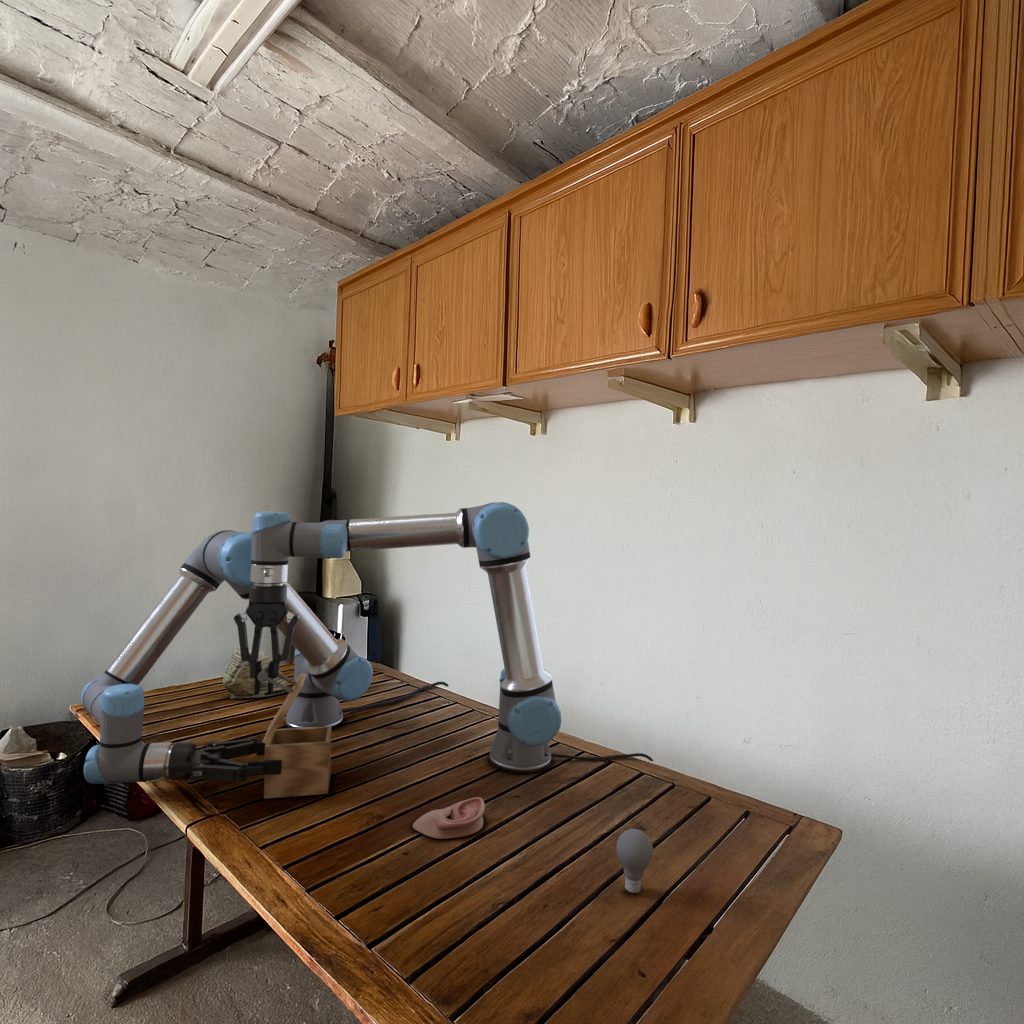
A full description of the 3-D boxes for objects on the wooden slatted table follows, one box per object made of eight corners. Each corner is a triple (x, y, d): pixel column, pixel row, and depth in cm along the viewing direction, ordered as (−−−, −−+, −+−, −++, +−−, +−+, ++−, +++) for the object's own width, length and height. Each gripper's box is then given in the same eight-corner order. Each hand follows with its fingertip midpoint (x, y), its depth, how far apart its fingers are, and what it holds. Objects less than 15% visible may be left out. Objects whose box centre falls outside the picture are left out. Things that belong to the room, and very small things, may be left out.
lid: (306, 674, 142) (269, 655, 141) (302, 687, 133) (262, 667, 131) (274, 727, 141) (236, 709, 139) (267, 744, 132) (227, 725, 130)
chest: (330, 774, 144) (331, 726, 144) (327, 793, 135) (328, 742, 134) (271, 778, 141) (271, 729, 141) (263, 798, 132) (264, 746, 132)
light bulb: (610, 879, 108) (613, 822, 108) (644, 879, 109) (647, 822, 109) (619, 902, 102) (622, 840, 102) (655, 901, 103) (658, 840, 103)
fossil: (218, 695, 195) (220, 647, 195) (278, 685, 208) (279, 640, 207) (228, 703, 189) (230, 653, 188) (289, 692, 201) (290, 645, 201)
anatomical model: (407, 813, 120) (427, 787, 131) (406, 834, 120) (426, 806, 131) (475, 823, 117) (489, 796, 129) (474, 845, 117) (488, 815, 129)
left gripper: (186, 757, 143) (290, 753, 148) (153, 804, 121) (276, 798, 126) (187, 724, 143) (291, 721, 148) (155, 765, 121) (278, 760, 126)
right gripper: (227, 585, 130) (222, 699, 131) (303, 586, 133) (298, 697, 134) (234, 580, 137) (230, 688, 138) (307, 581, 141) (302, 687, 141)
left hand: (284, 756), depth 137 cm, fingers closed on chest, 10 cm apart
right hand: (263, 692), depth 136 cm, fingers closed on lid, 2 cm apart
